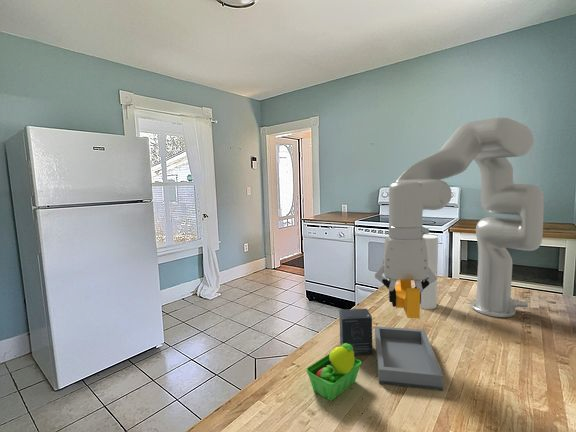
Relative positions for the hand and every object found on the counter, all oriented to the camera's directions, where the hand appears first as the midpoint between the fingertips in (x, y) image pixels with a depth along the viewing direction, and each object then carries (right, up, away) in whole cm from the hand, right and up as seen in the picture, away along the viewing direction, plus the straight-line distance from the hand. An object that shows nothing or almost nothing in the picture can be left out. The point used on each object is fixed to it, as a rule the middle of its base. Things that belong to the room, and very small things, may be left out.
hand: (404, 304), depth 77 cm
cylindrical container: (+20, -10, +34) cm, 41 cm away
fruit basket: (-18, -17, -7) cm, 26 cm away
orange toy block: (0, -1, 0) cm, 1 cm away
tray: (0, -15, +2) cm, 15 cm away
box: (-11, -15, +8) cm, 20 cm away
